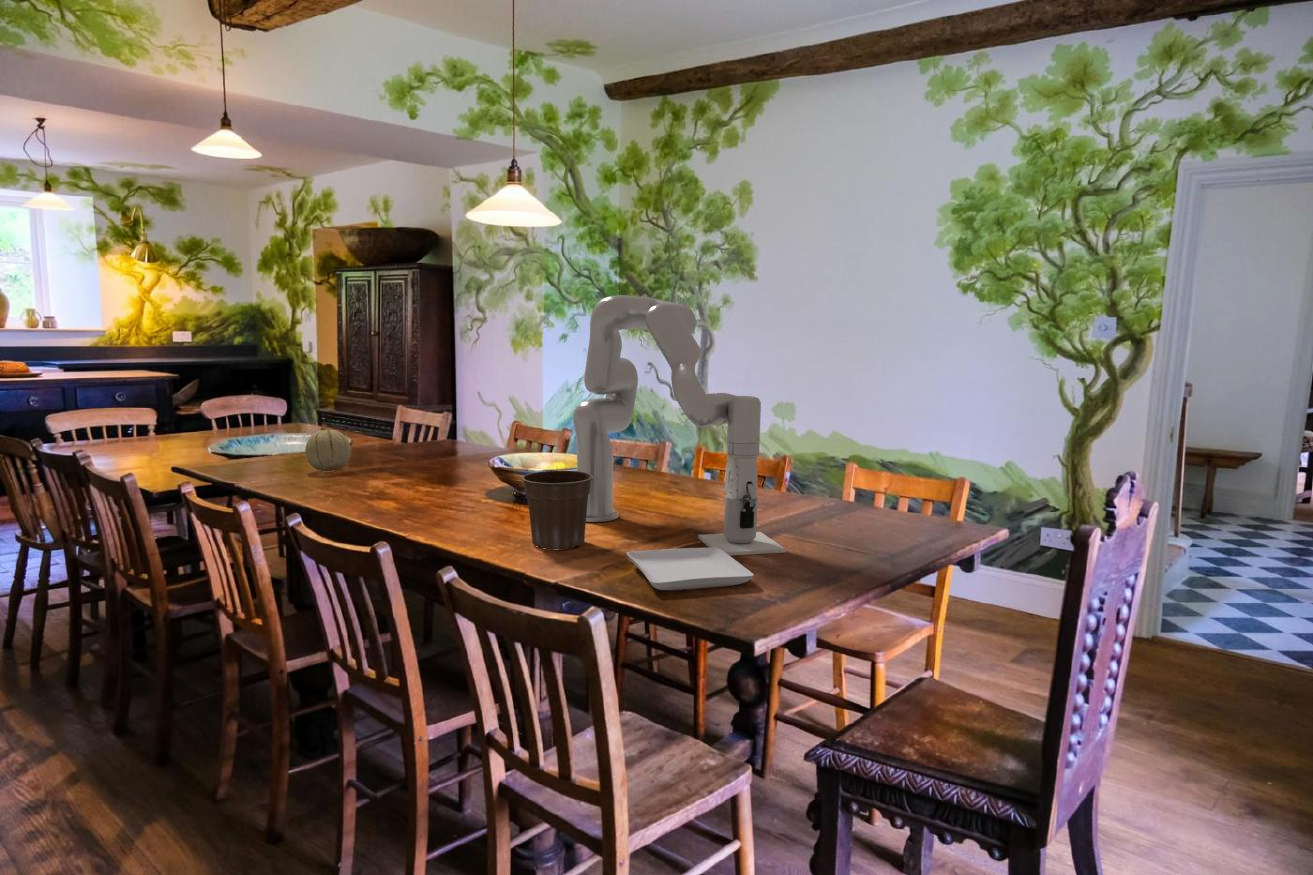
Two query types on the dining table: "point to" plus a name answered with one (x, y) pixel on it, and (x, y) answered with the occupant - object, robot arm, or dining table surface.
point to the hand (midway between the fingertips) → (740, 523)
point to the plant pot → (557, 507)
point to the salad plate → (689, 568)
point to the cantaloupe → (328, 450)
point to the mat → (742, 544)
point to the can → (737, 521)
